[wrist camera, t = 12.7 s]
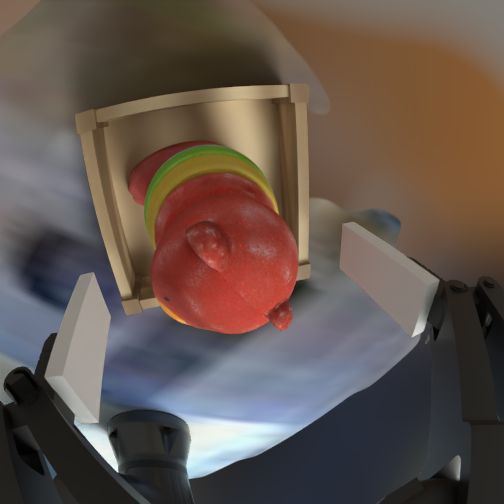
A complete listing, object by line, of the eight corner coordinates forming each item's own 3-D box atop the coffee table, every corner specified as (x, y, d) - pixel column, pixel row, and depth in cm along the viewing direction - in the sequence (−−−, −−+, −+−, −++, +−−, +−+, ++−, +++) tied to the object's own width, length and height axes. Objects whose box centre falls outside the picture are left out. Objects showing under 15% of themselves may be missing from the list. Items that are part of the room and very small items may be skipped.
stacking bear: (118, 178, 24) (51, 284, 9) (210, 112, 24) (284, 107, 8) (186, 260, 30) (217, 410, 14) (268, 203, 29) (376, 310, 14)
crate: (130, 284, 30) (126, 315, 25) (92, 114, 21) (74, 114, 17) (290, 253, 34) (310, 277, 29) (283, 88, 25) (308, 84, 20)
